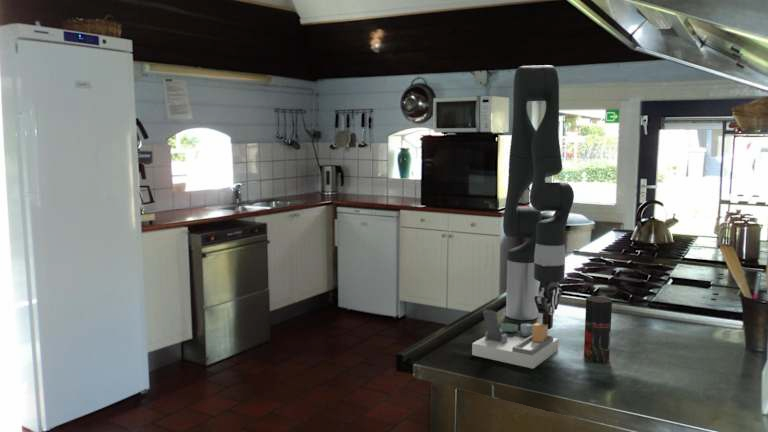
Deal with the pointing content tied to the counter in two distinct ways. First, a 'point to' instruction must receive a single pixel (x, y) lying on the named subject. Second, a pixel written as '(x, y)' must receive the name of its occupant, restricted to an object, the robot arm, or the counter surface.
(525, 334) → the push button
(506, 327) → the block
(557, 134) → the robot arm
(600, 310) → the deodorant
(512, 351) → the panel
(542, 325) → the slider knob
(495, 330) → the paddle lever
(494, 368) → the counter surface
